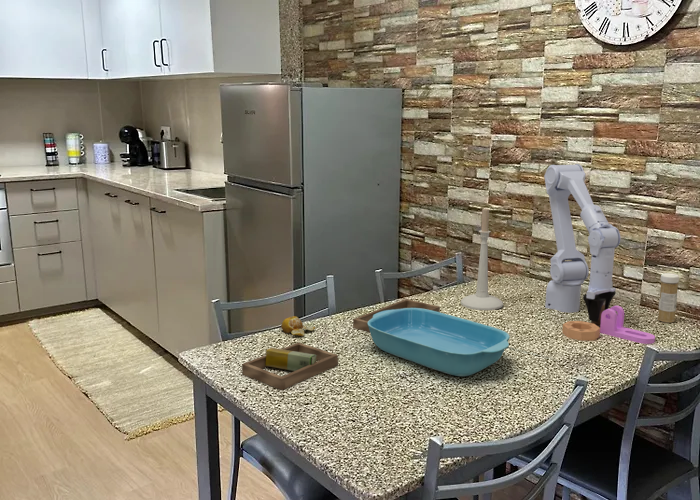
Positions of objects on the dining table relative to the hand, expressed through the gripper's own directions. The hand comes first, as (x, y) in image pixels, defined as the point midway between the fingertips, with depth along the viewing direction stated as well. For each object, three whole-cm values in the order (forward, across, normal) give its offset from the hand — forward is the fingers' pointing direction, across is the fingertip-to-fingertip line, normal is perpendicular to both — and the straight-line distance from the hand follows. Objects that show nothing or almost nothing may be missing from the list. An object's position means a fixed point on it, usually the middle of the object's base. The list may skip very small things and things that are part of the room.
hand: (597, 318), depth 177 cm
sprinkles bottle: (+2, +15, -14) cm, 21 cm away
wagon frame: (+2, -34, +44) cm, 56 cm away
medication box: (+2, -78, +42) cm, 89 cm away
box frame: (+2, -78, +42) cm, 89 cm away
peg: (+2, 0, 0) cm, 2 cm away
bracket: (+2, -5, -10) cm, 11 cm away
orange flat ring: (+2, -12, 0) cm, 12 cm away
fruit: (+3, -58, +56) cm, 81 cm away
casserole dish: (+2, -48, +22) cm, 53 cm away
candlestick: (+2, -4, +34) cm, 34 cm away
